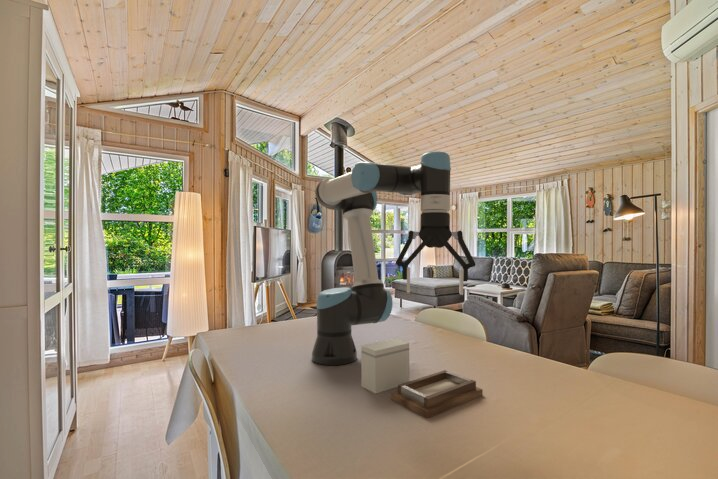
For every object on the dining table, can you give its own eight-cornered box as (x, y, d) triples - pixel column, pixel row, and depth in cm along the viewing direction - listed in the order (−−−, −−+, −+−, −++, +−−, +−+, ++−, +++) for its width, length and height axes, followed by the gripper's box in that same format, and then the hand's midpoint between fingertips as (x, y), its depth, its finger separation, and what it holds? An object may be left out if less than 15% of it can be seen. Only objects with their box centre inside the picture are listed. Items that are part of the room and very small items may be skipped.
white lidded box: (361, 386, 96) (361, 345, 96) (394, 376, 103) (394, 338, 103) (375, 393, 91) (375, 350, 91) (409, 382, 98) (409, 343, 98)
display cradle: (391, 399, 87) (391, 384, 88) (445, 380, 99) (445, 368, 99) (427, 418, 78) (427, 402, 78) (482, 395, 90) (482, 381, 90)
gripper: (386, 211, 92) (385, 293, 92) (487, 210, 87) (486, 297, 87) (389, 213, 99) (388, 289, 99) (482, 213, 95) (481, 292, 95)
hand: (434, 293), depth 93 cm, fingers open, 13 cm apart
